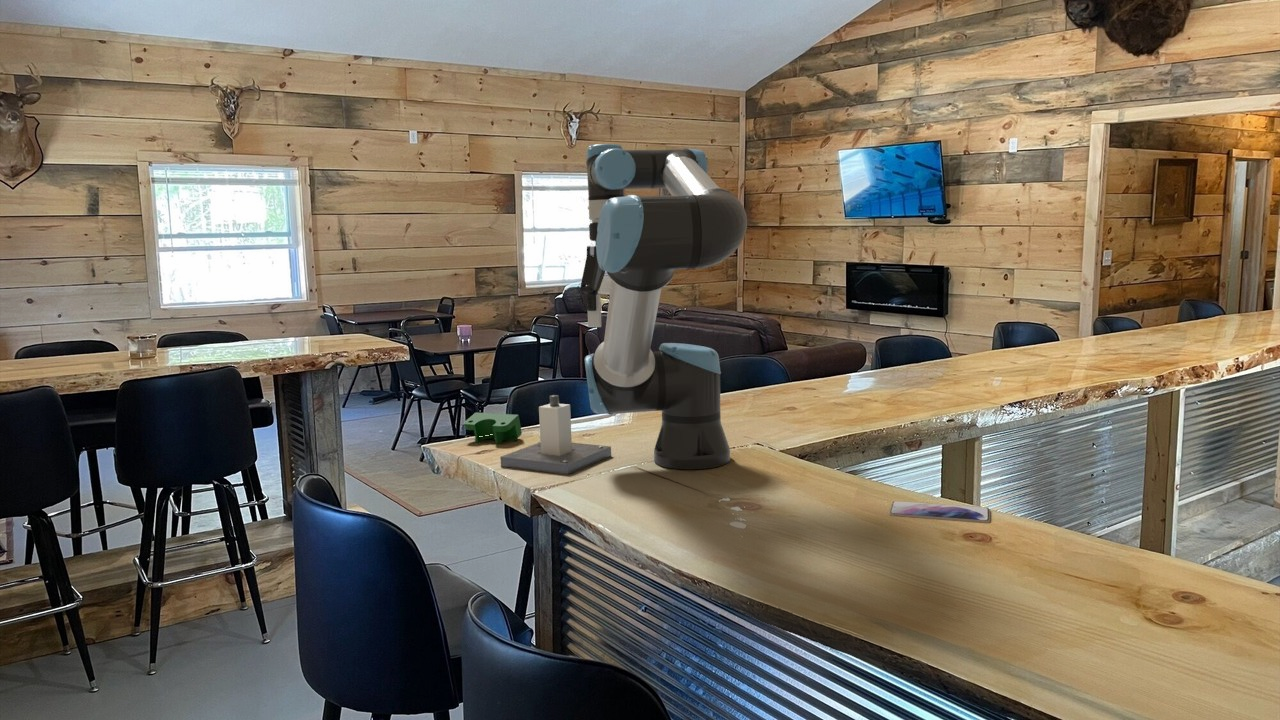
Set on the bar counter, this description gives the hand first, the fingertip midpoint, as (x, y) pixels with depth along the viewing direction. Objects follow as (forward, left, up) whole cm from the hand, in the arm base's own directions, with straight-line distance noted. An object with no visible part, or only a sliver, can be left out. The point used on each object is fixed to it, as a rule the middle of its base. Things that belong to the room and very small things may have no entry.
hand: (610, 323), depth 194 cm
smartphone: (-71, +19, -27) cm, 78 cm away
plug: (+5, +15, -26) cm, 30 cm away
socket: (+5, +15, -27) cm, 31 cm away
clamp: (+29, +5, -27) cm, 40 cm away
